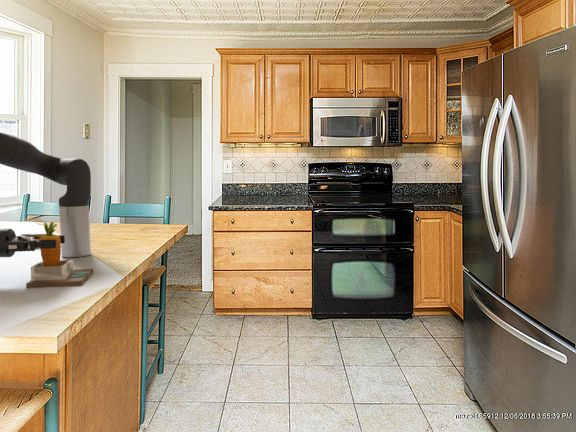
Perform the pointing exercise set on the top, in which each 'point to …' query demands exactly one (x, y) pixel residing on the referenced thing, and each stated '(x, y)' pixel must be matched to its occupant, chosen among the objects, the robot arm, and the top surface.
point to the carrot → (51, 254)
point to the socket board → (57, 275)
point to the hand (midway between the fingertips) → (60, 241)
